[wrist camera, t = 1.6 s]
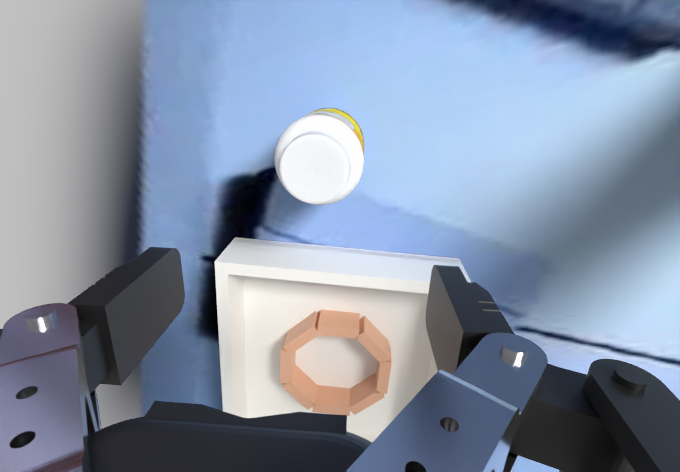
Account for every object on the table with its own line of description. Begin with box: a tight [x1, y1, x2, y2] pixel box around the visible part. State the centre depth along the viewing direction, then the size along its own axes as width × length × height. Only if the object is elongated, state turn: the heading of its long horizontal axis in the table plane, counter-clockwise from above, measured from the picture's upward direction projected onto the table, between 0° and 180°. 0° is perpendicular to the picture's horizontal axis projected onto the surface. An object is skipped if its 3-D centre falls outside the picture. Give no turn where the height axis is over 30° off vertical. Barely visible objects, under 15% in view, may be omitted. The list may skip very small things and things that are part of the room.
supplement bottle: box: [275, 108, 364, 205], centre depth 26 cm, size 6×6×10 cm
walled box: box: [215, 237, 472, 442], centre depth 36 cm, size 22×20×5 cm
